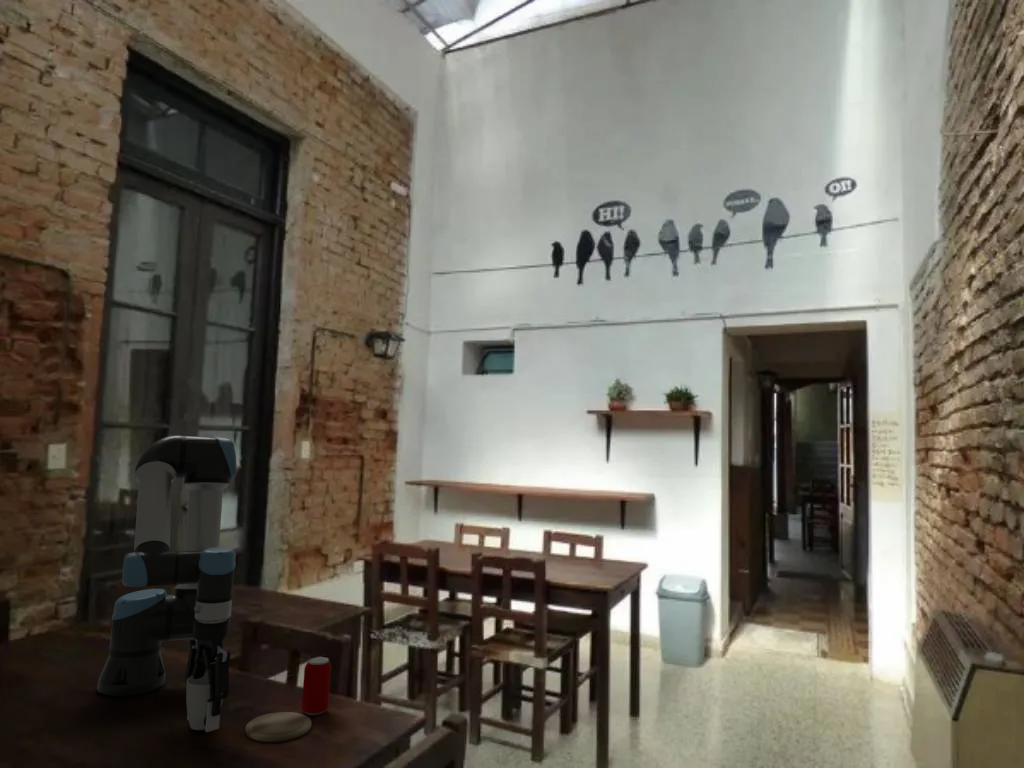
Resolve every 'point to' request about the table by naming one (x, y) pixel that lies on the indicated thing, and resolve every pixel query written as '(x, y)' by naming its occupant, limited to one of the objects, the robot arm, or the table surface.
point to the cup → (197, 701)
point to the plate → (278, 727)
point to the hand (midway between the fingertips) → (202, 723)
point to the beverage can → (316, 686)
